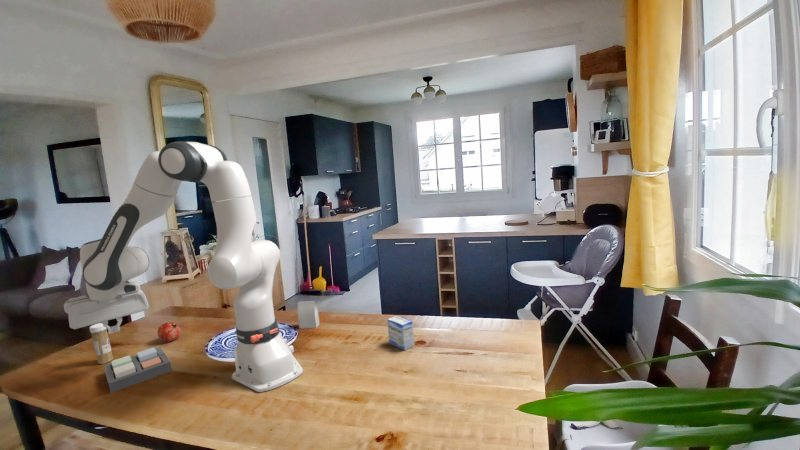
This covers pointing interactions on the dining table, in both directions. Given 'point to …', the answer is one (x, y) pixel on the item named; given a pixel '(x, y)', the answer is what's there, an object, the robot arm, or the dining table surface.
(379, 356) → the dining table surface
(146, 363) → the key terracotta
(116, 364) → the key sage
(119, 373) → the key offwhite
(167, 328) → the pomegranate
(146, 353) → the key bluegrey
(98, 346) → the sprinkles bottle
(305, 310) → the light grey tapered block
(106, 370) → the keypad
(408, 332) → the medicine box
